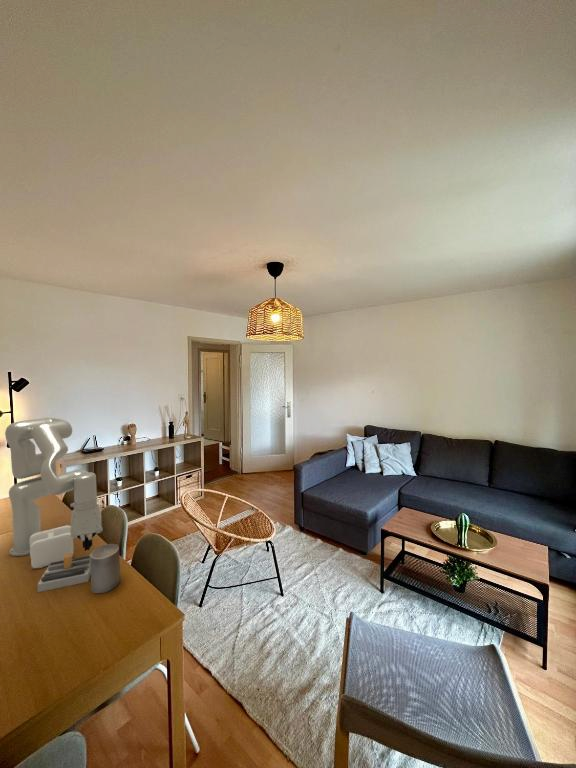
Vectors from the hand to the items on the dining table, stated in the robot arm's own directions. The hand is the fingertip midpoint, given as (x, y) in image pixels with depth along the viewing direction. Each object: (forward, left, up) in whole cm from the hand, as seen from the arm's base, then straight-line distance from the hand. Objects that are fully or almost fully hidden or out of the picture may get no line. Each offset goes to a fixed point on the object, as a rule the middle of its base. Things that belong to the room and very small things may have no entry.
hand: (87, 548), depth 123 cm
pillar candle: (+10, +8, -11) cm, 17 cm away
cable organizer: (-16, -17, -11) cm, 26 cm away
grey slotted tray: (0, -7, -11) cm, 13 cm away
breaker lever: (0, -7, -7) cm, 10 cm away
